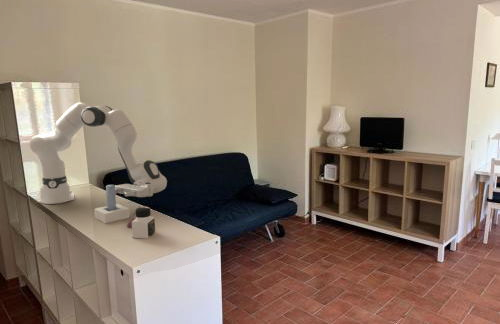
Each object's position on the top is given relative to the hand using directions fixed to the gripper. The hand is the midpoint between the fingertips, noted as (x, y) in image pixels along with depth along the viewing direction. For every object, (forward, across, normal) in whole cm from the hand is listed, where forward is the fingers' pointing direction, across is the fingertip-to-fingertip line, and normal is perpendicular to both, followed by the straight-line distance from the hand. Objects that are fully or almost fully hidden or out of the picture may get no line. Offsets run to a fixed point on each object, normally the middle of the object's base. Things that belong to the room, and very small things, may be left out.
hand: (118, 193), depth 170 cm
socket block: (+4, 0, +11) cm, 12 cm away
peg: (+4, 0, +11) cm, 12 cm away
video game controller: (+8, +22, +12) cm, 27 cm away
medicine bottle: (+12, +32, +12) cm, 36 cm away
